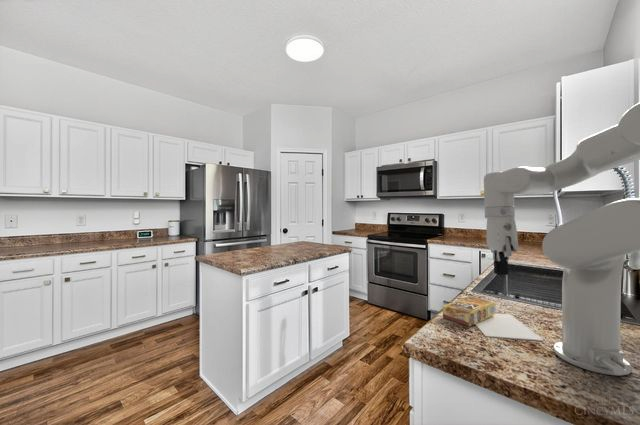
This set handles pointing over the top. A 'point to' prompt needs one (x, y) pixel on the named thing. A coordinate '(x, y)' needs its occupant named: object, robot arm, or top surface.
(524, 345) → the top surface
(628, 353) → the top surface
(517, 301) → the top surface
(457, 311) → the candy box
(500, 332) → the baking mat
